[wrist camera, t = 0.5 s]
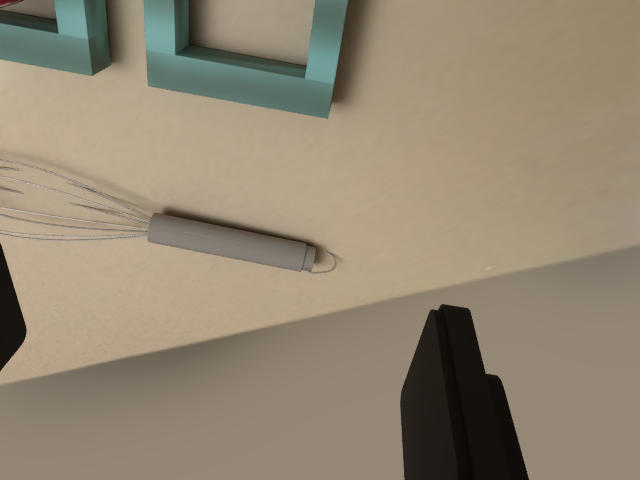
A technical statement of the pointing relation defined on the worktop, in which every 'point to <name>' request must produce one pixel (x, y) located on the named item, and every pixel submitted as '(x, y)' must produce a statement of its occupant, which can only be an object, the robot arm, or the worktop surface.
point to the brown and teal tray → (59, 38)
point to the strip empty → (244, 62)
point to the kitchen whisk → (192, 235)
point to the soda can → (8, 2)
